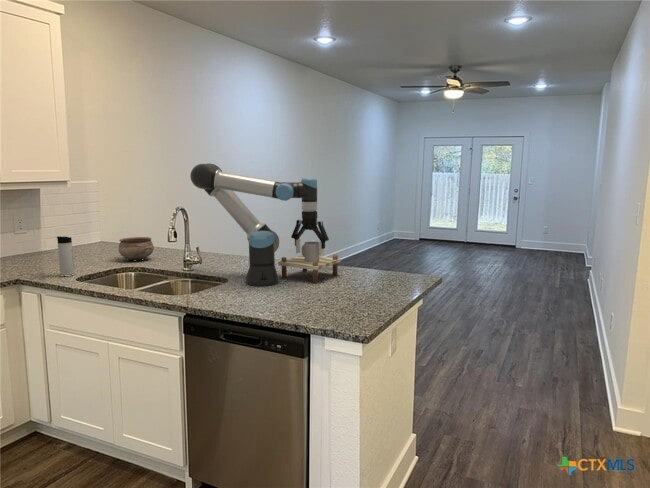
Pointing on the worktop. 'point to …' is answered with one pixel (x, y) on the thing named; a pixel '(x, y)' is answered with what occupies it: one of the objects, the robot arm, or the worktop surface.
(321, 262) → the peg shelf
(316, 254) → the cup
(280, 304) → the worktop surface
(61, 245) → the travel mug
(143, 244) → the cooking pot
